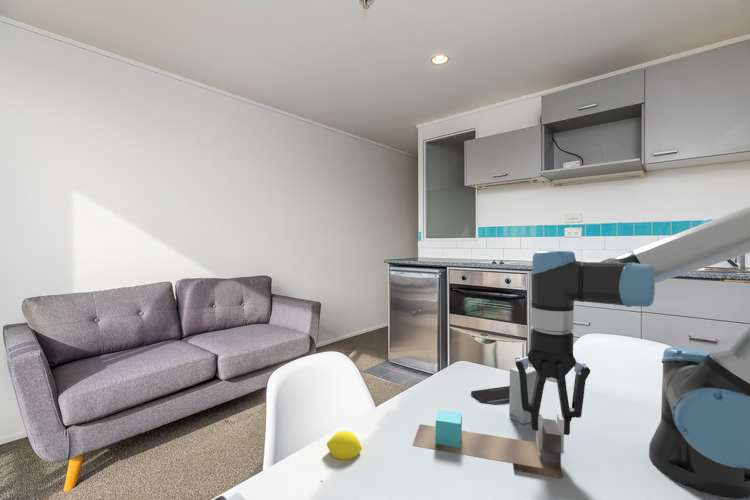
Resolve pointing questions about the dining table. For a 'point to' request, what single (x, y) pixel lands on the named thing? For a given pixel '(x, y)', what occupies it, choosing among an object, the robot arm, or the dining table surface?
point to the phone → (493, 395)
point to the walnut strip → (505, 448)
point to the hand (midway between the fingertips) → (549, 447)
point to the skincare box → (515, 395)
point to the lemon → (344, 445)
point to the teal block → (448, 428)
